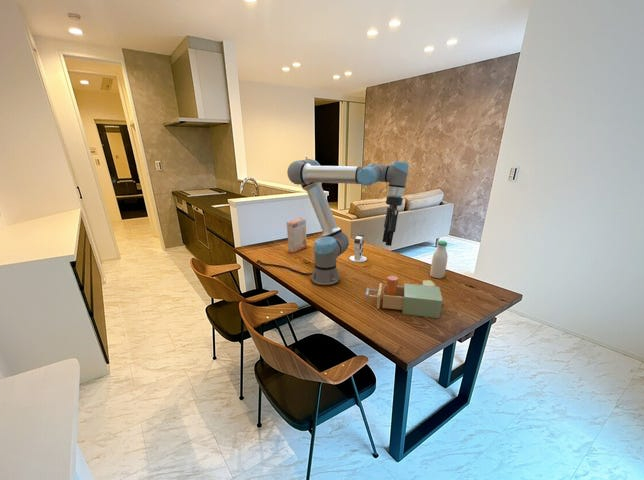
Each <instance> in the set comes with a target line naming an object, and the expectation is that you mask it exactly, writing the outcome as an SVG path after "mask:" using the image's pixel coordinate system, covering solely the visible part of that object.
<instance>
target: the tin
mask: <svg viewBox="0 0 644 480" xmlns="http://www.w3.org/2000/svg"><path fill="white" fill-rule="evenodd" d="M398 282H399V276H395V275H389V276H387V277H386V284H385V285H386V295H390V296H396V294H397V286H399V285H398V284H399V283H398Z"/></svg>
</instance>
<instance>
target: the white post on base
mask: <svg viewBox="0 0 644 480" xmlns="http://www.w3.org/2000/svg"><path fill="white" fill-rule="evenodd" d="M353 252H354V253H353V254H354V255H351V256H349V258H348V259H349V261H351V262H354V263H364V262H366V261H367V260H368V258H367V256H365V255H363V252H364V234H361V233H360V234H357V236H355V237H354V239H353Z"/></svg>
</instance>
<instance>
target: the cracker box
mask: <svg viewBox="0 0 644 480" xmlns="http://www.w3.org/2000/svg"><path fill="white" fill-rule="evenodd" d="M286 232H287V233H286V234H287V247H288V252H290V253H294V254H295V253H298V252H299V251H302V250H304V249H306V248H307V247H308V241H307V219H306V218H302V217H299V218H296V219H293V220H290V221H289V220H288V221H287V222H286Z"/></svg>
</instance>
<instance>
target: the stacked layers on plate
mask: <svg viewBox="0 0 644 480" xmlns="http://www.w3.org/2000/svg"><path fill="white" fill-rule="evenodd" d="M422 285H426V286H436V284H435V283H434V282H433V281H432V279H431V280H429V279H428V280H427V279H423V280H422Z"/></svg>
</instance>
